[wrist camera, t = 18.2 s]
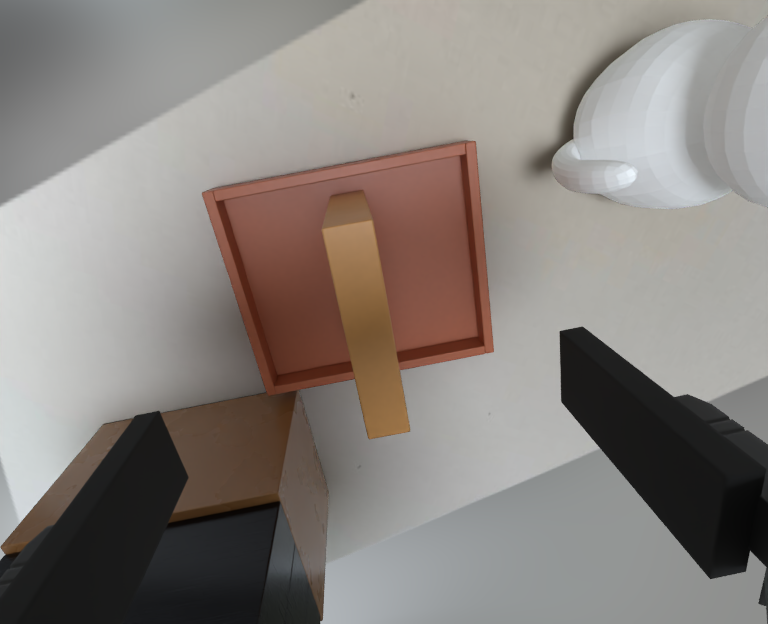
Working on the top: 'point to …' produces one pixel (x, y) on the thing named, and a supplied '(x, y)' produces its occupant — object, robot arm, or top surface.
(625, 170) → the cat figurine
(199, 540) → the toaster
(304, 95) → the top surface
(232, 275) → the tray
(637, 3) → the top surface
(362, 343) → the toast
